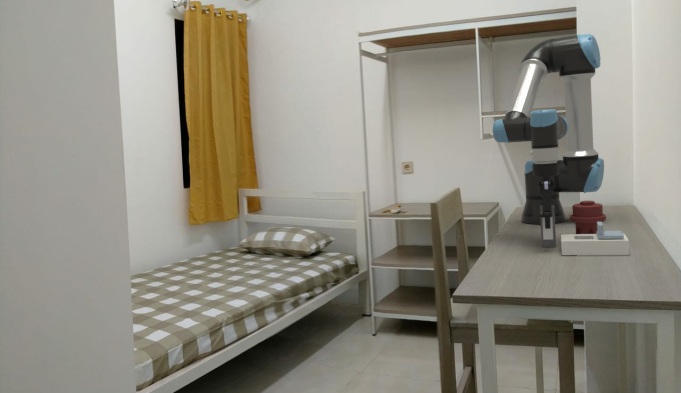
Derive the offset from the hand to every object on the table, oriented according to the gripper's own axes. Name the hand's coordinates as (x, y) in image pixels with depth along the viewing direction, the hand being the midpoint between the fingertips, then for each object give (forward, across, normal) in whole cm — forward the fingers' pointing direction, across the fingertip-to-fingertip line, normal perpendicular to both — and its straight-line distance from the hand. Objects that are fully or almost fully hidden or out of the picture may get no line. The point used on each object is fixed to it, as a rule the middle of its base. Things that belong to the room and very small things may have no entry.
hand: (548, 235), depth 184 cm
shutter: (-1, +9, +16) cm, 18 cm away
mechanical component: (+3, -5, +11) cm, 13 cm away
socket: (+3, +9, +12) cm, 15 cm away
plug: (+3, 0, 0) cm, 3 cm away
